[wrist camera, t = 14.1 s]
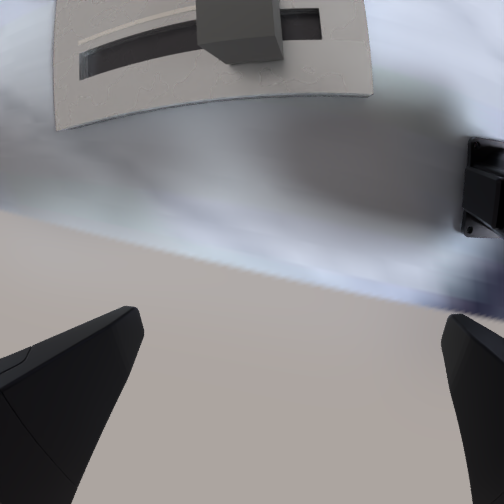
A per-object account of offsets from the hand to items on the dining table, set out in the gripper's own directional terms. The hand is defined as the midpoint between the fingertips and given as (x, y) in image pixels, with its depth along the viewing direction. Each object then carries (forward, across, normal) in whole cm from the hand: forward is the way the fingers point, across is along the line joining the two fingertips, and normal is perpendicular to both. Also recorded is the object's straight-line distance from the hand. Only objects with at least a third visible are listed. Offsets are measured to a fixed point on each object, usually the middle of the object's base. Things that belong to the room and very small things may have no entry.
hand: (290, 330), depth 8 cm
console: (+12, +6, -16) cm, 21 cm away
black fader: (+11, +2, -11) cm, 16 cm away
